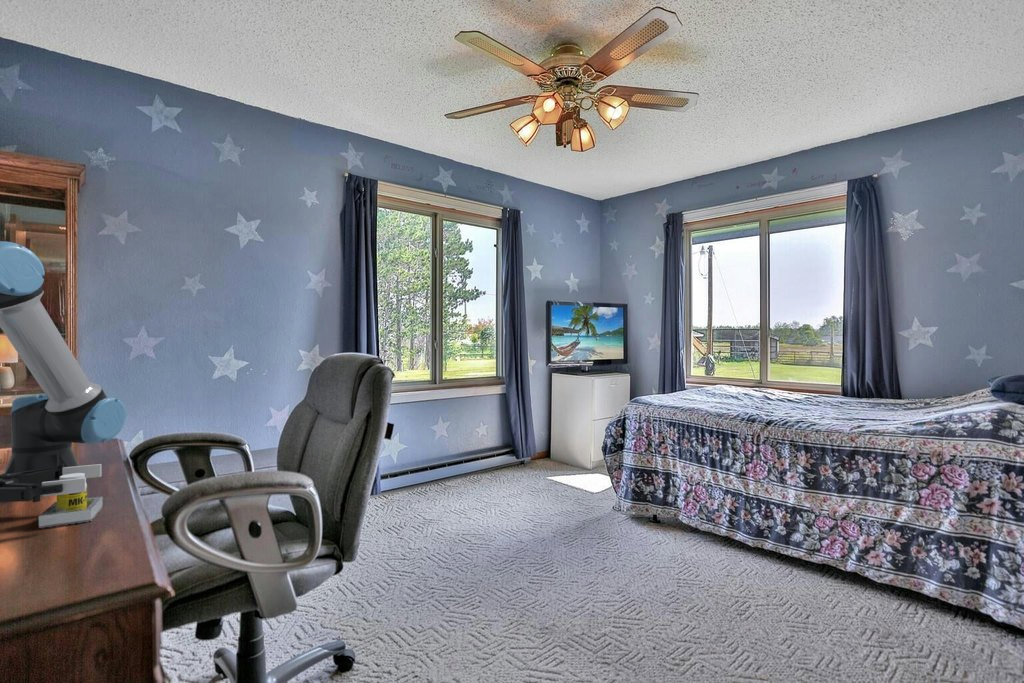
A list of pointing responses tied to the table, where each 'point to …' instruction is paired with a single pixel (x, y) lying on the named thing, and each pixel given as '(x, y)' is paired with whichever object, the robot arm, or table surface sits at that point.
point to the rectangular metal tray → (70, 514)
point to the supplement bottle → (72, 496)
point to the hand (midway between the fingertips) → (93, 477)
